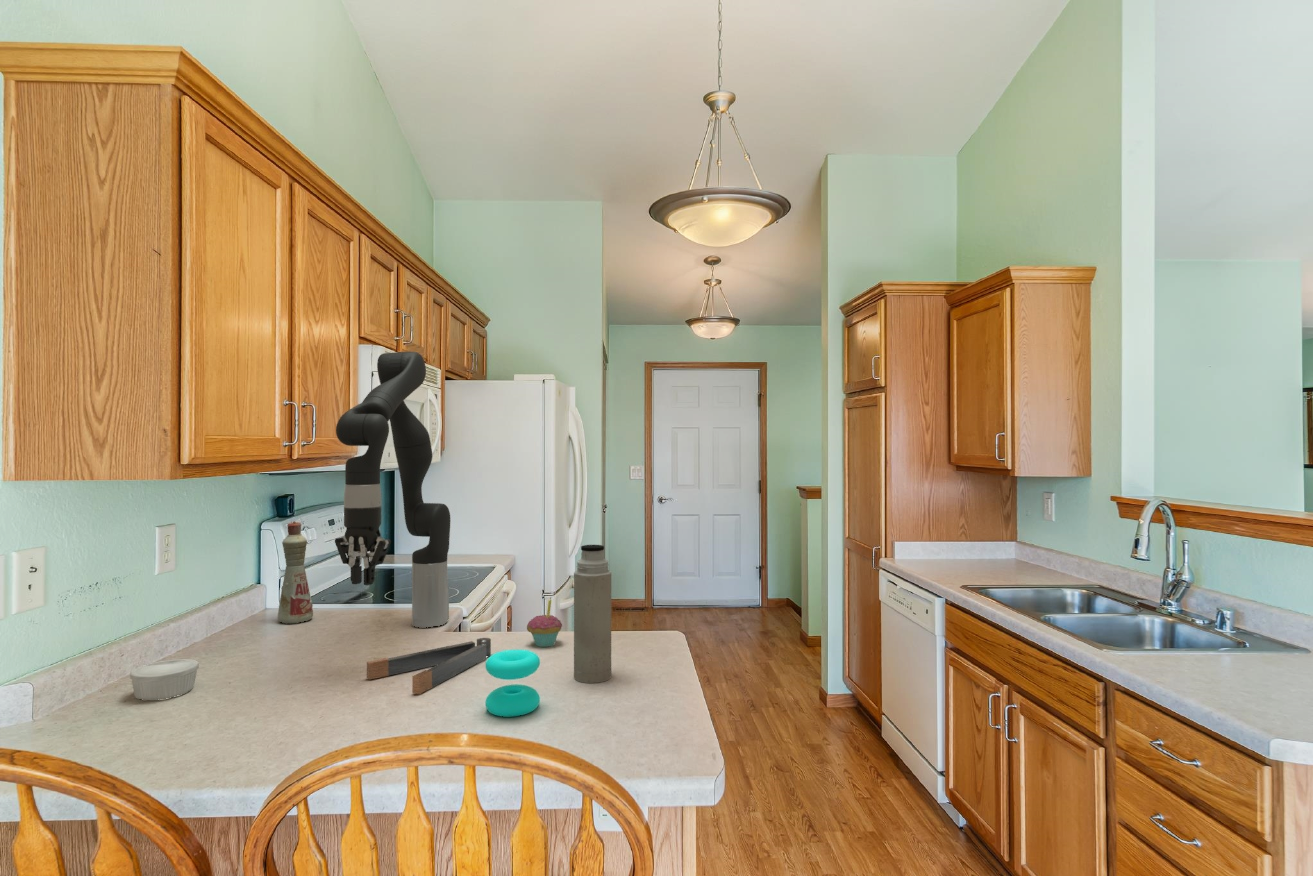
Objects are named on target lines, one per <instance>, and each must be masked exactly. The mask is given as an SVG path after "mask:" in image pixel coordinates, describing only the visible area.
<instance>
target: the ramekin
mask: <svg viewBox="0 0 1313 876" xmlns="http://www.w3.org/2000/svg"><path fill="white" fill-rule="evenodd" d="M199 666H200V662H199V661H197V660H195V659H189V658H187V659H183V658H181V659H170V660H161V661H156V662H151V663H147V664H144V665H140V666H138V667H135V668H133V669H132V670H131V671H130V673H129V677H130V679H131V685H132V689H133V694H134V697H135V698H136V699H137V700H139V699H143V700H158V699H166V698H170V697H174V696H177V695H181V694H184V693H186V692H188V691H189V692H191V691H192V689H193V688H194V686H195V682H196V677H197V673H198V669H199ZM189 692H188V693H189ZM186 694H187V693H186ZM184 695H185V694H184ZM181 696H182V695H181ZM170 699H171V698H170ZM166 700H167V699H166Z"/></svg>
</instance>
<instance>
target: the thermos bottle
mask: <svg viewBox="0 0 1313 876" xmlns="http://www.w3.org/2000/svg"><path fill="white" fill-rule="evenodd" d="M580 550H581V553H580V555H581V557H580V559H579V560H578V561H577V562H576V569H577V570H575V571H574V572H573V679H574V680H575V681H577V682H580V683H586V684H596V683H597V684H598V683H602V682H606V681H608V680H610V679H611V678H612V571H611V570H609V566H610V565H609V561H608V560H607V559H605V552H604V550H605V546H604V545H602V544H584V545H582V546H580Z"/></svg>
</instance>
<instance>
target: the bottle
mask: <svg viewBox="0 0 1313 876" xmlns="http://www.w3.org/2000/svg"><path fill="white" fill-rule="evenodd" d="M286 526H287V533H288V534H287V536H286V537H284V539H283V541H282V542H281V543H282V548H283V553H284V559H285V570H284V576H283V581H282V585H281V594H280V598H279V604H278V610H277V611H278V612H277V620H278V621H279V623H280V622H282V623H281V624H284V623H296V622H301V623H305V622H304V621H306V622H308V621H310V620H311V619H312V618H313V617H314V610H313V606H314V604H313V601H312V597H311V593H310V589H309V588H310V587H309V583H308V577H307V572H306V567H305V557H306V551H307V543H308V539H307V538H306V537H305V536H304V535H303V534H302V523H301V522H296V520H295V521H293V522H290V523H287V525H286ZM296 624H297V623H296Z"/></svg>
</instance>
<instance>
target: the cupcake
mask: <svg viewBox="0 0 1313 876" xmlns="http://www.w3.org/2000/svg"><path fill="white" fill-rule="evenodd" d="M551 605H552V596H550V598H549V599H548V604H547V612H546V614H545V615H543V614H541V615H536V616H534V617H533V618H532V619H530V620H529V621H528V623H527V625H526V631H527V632H529V633H531V635H532V638H533V641H534V645H535V646H536V647H539V648H546V647H548V646H549V647H553V646H554V645H555V644H556V641H557V637H558V634H559V632H560V631H561V630H562V627H563V624H562V622H561V620H560V619H559V618H558V617H556V616H554V615H552V614H551V607H552V606H551Z"/></svg>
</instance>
